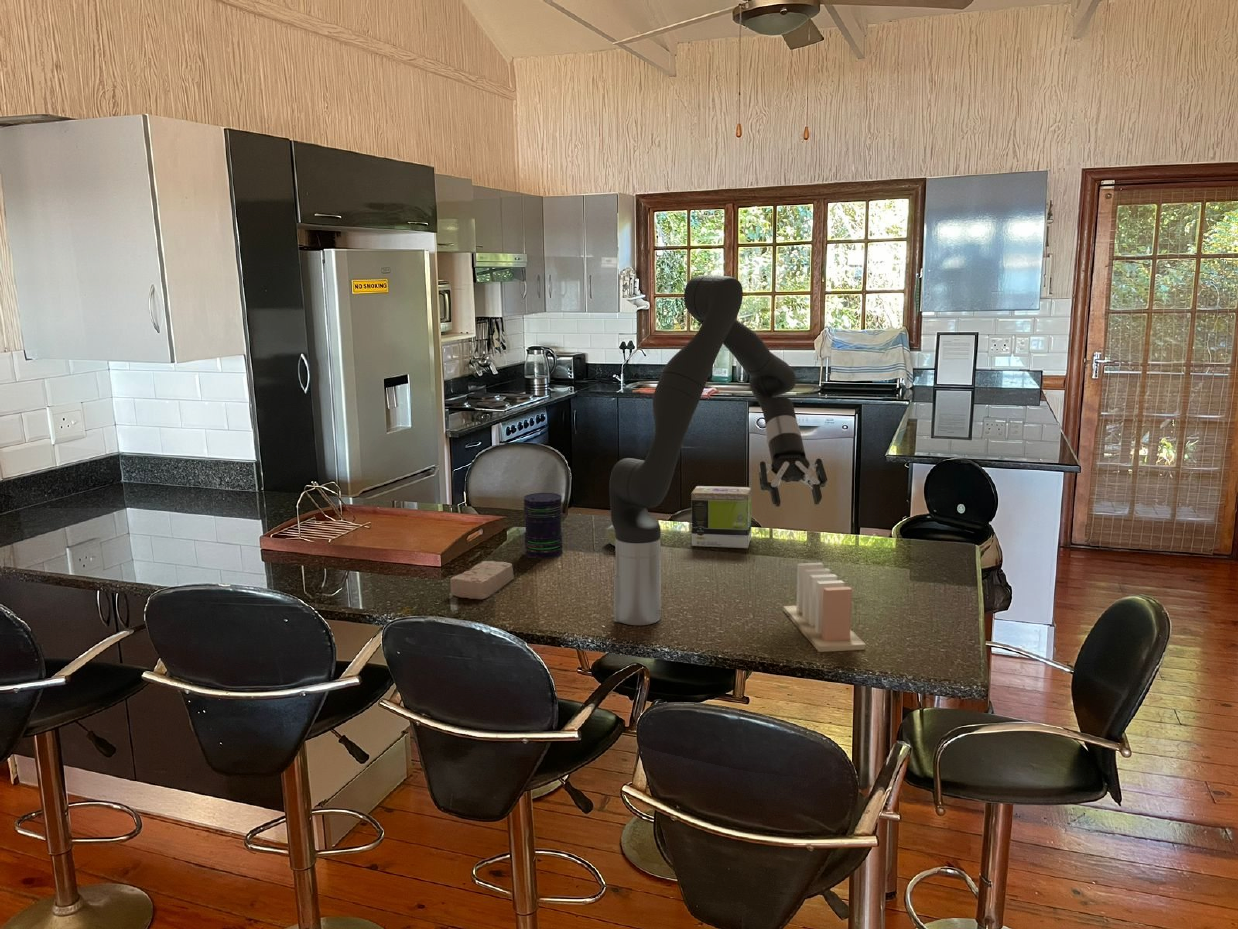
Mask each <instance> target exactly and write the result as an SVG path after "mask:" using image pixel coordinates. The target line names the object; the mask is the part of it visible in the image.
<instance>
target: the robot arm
mask: <svg viewBox="0 0 1238 929" xmlns="http://www.w3.org/2000/svg"><path fill="white" fill-rule="evenodd" d="M743 299H744V291H743V286H742V283H741V282H740V281H739V280H738V279H737V278H736V277H733V276H728V275H727V276H726V275H706V274H705V275H697V276H694V277H692V278H690V280H688V282H687V283H686V286H685V288H684V292H683V303H684V306H685V308H686V311H687V312H688V313H689V314H690V316H692V317H693V319H694V320H696V321H697V322H699V324H701V326H700V327H699V330H698V331H697V333H696V334H695V335H694V336H693V338H692V339H690V340H689V341H688V343H686V344H685V345H684V346H683V347H682V348H681V349H680V350H679V351H677V353H675V354H674V355H673V356H672V357H671V358H670V359H669V361H668V362H667V363H666V364H665V366H664V368H663V369H662V372H661V375H660V377H659V379H658V381H657V384H656V386H655V389H654V392H653V397H652V412H653V413H652V414H653V420H654V436H653V440H652V443H651V446H650V449H649V451H648V453H647V455H646V458H645V459H644V460H643V459H637V458H633V457H632V458H630V457H627V458H622V459H620V460H619V461H617V462H616V463H615V465H614V466H613V468H612V470H611V473H610V477H609V483H608V484H609V489H608V490H609V507H610V508H609V509H610V521H611V525H613V527H614V529H615V546H614V547H615V550H614V551H615V575H614V577H613V615H614V616H613V617H614V618H613V620H614V622H615V623H622V624H625V625H630V626H646V625H651V624H654V623H655V624H656V623H657V622H659V621H660V620H661V617H662V616H661V612H662V608H661V603H662V601H661V600H662V599H661V598H662V594H661V593H662V592H661V591H662V590H661V588H662V587H661V579H662V578H661V577H662V576H661V574H662V572H661V569H662V568H661V567H662V566H661V561H662V559H661V558H662V557H661V555H662V554H661V552H662V551H661V547H662V546H661V543H662V542H661V532H662V531H661V530H662V529H661V526H660V523H659V522H658V521H657V520H656V519H655V518H654V517H653V516H652V515H651V514H650V513H649V511H648V509H653V508H654V509H655V508H656V507H657V506H659V505H660V504H661V503H662V502H663V501H664V499H665V498H666V496H667V494H668V491H669V489H670V486H671V483H672V480H673V476H674V474H675V469H676V466H677V462H678V459H679V457H680V456H679V455H680V453H681V448H682V446H683V443H684V441H685V438H686V435H687V432H688V429H689V427H690V424H691V421H692V418H693V416H694V414H695V411H696V410H697V407H698V405H699V402H700V400H701V397H702V396H703V392H704V390H705V387H706V385H707V381H708V378H709V377H710V374H711V371H712V370H713V366H714V363H715V362H716V360H717V357H718V355H719V352H720V350H721V348H722V346H723V345H724V347H725V348H726V349H727V350H728V351H729V352H730V353H731V354H732V356H733V357H734V358H735V360H736V361H737V362H738V363H739V365H740V366H741V368H743V370H744V372H746V374H748V375H749V376H750V379H749V382H748V383H749V388H750V391H751V393H752V394H753V396H754V397H755V399H756V401H757V402H758V404H759V407H760V409H761V411H762V415H763V419H764V423H765V424H764V426H765V432H766V443H767V447H768V451H769V456H770V460H771V463H766V462H765V461H764V460H763V461H760V462H759V465H758V470H757V471H758V478H759V488H760V490H762V491H768V492H769V493H770V499H771V503H772V505H774V506H775V508H776V507H777V508H778V507H780V506H781V502H782V501H781V497H780V491H779V486H780V484H781V483H782V481H783V482H784V483H789V482H797V483H798V482H800V481H801V482H802V483H803V484H804V485H807V486H809V488H810V489H812V490H811V493H812V497H813V502H814V505H815V506H816V505H817V506H818V505H819V504H820V502H821V501H822V499H823V496H822V495H823V494H822V490H821V488H824V487H825V486H826V484H827V482H828V477H827V474H826V471H825V466H824V464H823V461H822V459H821V458H820V457H819V458H816V460H813V461H812V460H811V461H809V460H808V458H807V456H806V451H805V447H804V443H803V438H802V433H801V429H800V426H799V423H798V421H797V420H798V419H797V416H796V411H795V407H794V403H793V401H792V400H791V399H790V398H788V397H785V396H781V395H783V394H787V393H789V392H791V391H792V390H794V388H795V387H796V385H797V384H796V383H797V376H796V373H795V371H794V370H793V368H792V367H791V366H790V364H788V363H787V362H786V361H785V360H783V359H782V358H779V357H778V356H776V355H775V354H774V353H772V352H771V350H769V348H768V346H767V345H766V343H765V342H764V341H763V339H762V338H761V337H760V336H759V335H758V334H757V333H756V332H754V331H753V330H752V329H751V328H750V327H748V326H747V325H744V323H742V322H741V321H739V320H737V317H738V315H739V313H740V309H741V307H742V304H743ZM809 468H811V469H812V471H813V472H815V475H816V477H815V476H814V474H813V472H811V471H810V470H809ZM770 470H771V472H772V473H774V475H775V477H774V478H773V480H772V481H771V482H770V481H768V480H769V479H768V474H769V472H770Z"/></svg>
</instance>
